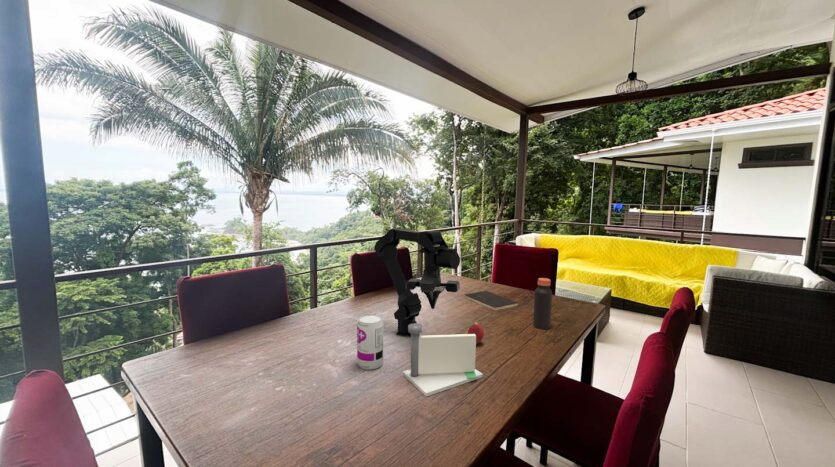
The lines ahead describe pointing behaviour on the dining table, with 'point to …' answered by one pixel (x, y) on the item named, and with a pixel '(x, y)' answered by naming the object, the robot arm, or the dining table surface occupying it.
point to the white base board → (440, 380)
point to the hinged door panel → (441, 352)
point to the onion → (476, 332)
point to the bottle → (542, 304)
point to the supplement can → (370, 342)
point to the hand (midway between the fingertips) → (433, 308)
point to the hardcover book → (491, 300)
